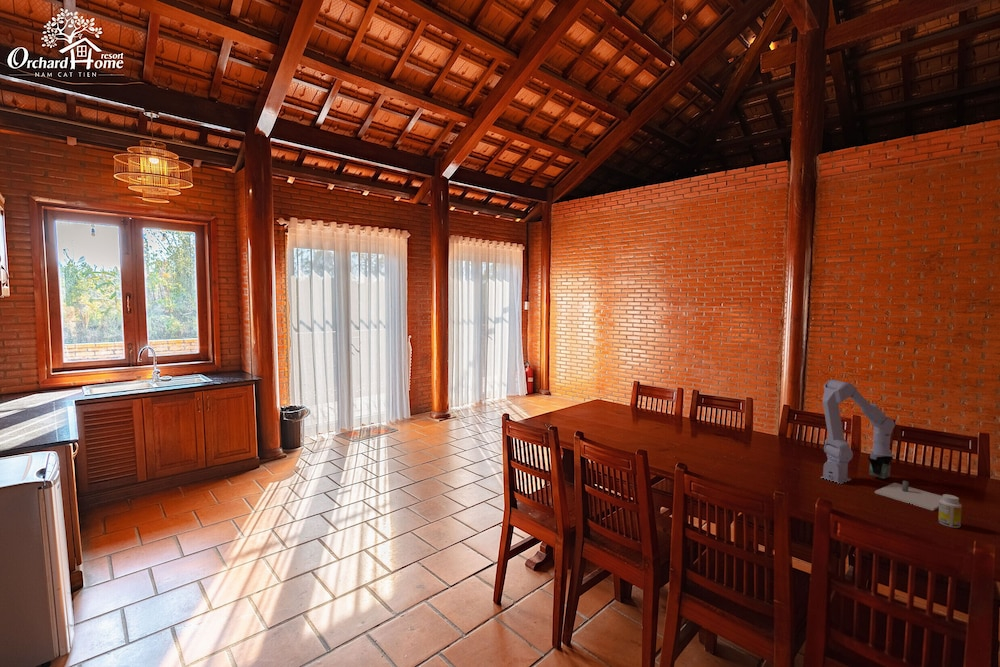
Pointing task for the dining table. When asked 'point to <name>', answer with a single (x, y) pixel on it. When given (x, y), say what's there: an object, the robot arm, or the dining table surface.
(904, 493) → the pin plate
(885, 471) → the collar
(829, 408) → the robot arm
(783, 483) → the dining table surface
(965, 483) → the dining table surface
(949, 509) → the supplement bottle
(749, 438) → the dining table surface
